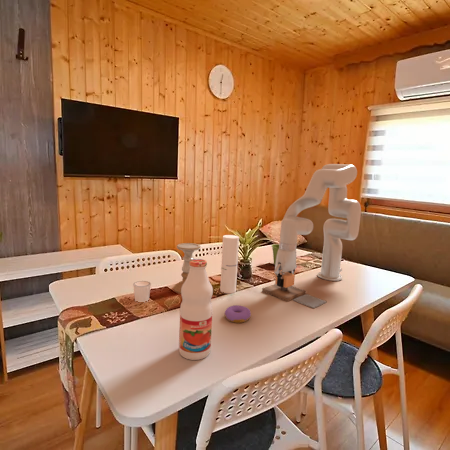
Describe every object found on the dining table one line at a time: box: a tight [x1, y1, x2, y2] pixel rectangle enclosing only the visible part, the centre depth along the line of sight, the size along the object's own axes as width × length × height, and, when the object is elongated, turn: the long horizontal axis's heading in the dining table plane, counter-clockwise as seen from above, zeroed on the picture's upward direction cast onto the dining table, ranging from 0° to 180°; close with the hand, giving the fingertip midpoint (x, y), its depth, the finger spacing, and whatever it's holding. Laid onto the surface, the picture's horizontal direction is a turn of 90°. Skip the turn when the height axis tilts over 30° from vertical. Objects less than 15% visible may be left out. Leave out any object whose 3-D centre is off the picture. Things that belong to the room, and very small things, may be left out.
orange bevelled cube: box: [274, 272, 296, 288], centre depth 144 cm, size 6×6×5 cm
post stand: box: [261, 283, 307, 302], centre depth 145 cm, size 14×14×8 cm
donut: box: [224, 304, 252, 324], centre depth 118 cm, size 10×9×5 cm
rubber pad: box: [292, 293, 327, 309], centre depth 137 cm, size 10×10×1 cm
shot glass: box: [132, 280, 152, 303], centre depth 129 cm, size 7×7×7 cm
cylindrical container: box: [219, 234, 240, 294], centre depth 143 cm, size 7×7×25 cm
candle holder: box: [173, 242, 201, 294], centre depth 142 cm, size 12×12×20 cm
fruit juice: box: [178, 258, 214, 361], centre depth 93 cm, size 9×9×28 cm
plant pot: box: [271, 243, 279, 265], centre depth 189 cm, size 12×12×11 cm
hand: (284, 284), depth 145 cm, fingers closed on orange bevelled cube, 6 cm apart
